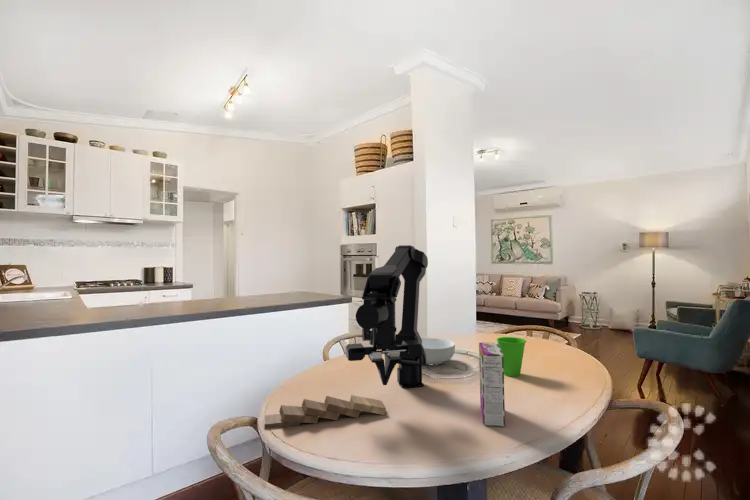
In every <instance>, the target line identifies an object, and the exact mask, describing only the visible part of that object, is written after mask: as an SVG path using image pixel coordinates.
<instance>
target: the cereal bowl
mask: <svg viewBox="0 0 750 500" xmlns="http://www.w3.org/2000/svg"><path fill="white" fill-rule="evenodd" d="M421 339H422V346H423V348H424V351H425V353H426V364H439V365H441V364H443V363H445V362H447V361H449V360H451V359H452V358H453V357H454V356H455V348H456V344H455V342H454V341H451V340H448V339H445V338H436V337H435V338H434V337H426V338H425V337H421Z"/></svg>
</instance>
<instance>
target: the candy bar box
mask: <svg viewBox="0 0 750 500" xmlns="http://www.w3.org/2000/svg"><path fill="white" fill-rule="evenodd" d="M503 356H504V355H503V353H502V351H501V349H500V346H499V344H498V342H482V341H481V342H479V343H478V357H479V358H478V359H479V363H478V364H479V392H480V393H479V394H480V395H479V397H480V399H479V400H480V402H479V404H480V410H481V411H480V412H481V415H482V416H481V418H482V422H483V425H484V426H485V427H486V426H487V427H496V428H498V427H500V428H505V427H506V420H505V419H506V416H505V415H506V411H505V410H506V409H505V408H506V407H505V405H506V403H505V375H504V364H503V363H504V361H503Z"/></svg>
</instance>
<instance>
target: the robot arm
mask: <svg viewBox="0 0 750 500" xmlns="http://www.w3.org/2000/svg"><path fill="white" fill-rule="evenodd" d="M394 249H395V250H394V252H393V253H392V255H391V256H390V257H389V259H388V260H387V261H386V262H385V264H384V265H383V266H380V267H376V268H375V269H374V270H372V271H371V272H370V273H369V275H368V276H367V278H366V283H365V286H364V289H363V293H362V296H361V300H363V304H361V305H360V306H359V307H358V308H357V310H356V313H355V320H356V323H357V324H358V326H359V327H360V328H362V329H361V339H362V342H366V341H367V342H368V341H369V345H370V346H364V345H363V344H362V343H360V342H359V343H348V344H346V346H345V358H346V359H347V361H349V362H356V361H357V362H358V361H363V359H364V358H366V356H367V357H368V359H369V360H370V362H371V363H373V364H375V365H376V368H377V369H376V370H377V372H378V374H379V378H380V380H381V383H382V385H383V386H387V385H388V383H389V380H390V378H391V376H392V373H393V370H394V369H395V366H396V365H398V367H397V368H396V374H397V375H396V377H397V381H396V382H397V383H398V384H399V385H400V387H402V388H404V389H406V388H409V389H410V388H418V387H424V386H425V384H424V382H423V366H427V365H426V353H425V351H424V348H423V346H422V339H421V338H422V337H421V335H420V334H419V331H418V320H419V302H420V301H419V300H420V283H421V281H422V279H423V278H424V276H425V275H426V273H427V272H426V271H427V270H426V269H427V268H428V264H429V259H428V256H427V255H426V254H425V252H424V251H422V250H419V249H418V248H415V246H414V245H410V244H409V245H405V244H404V245H401V244H400V245H398V246H396V247H395V248H394ZM401 276H402V278H403V280H404V282H403V296H402V297H403V299H402V313H401V328H400V330H399V332H397V327H396V302H397V298H398V295H399V291H400V288H401V284H402V281H401V280H400V277H401ZM383 355H384V358H383Z"/></svg>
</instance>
